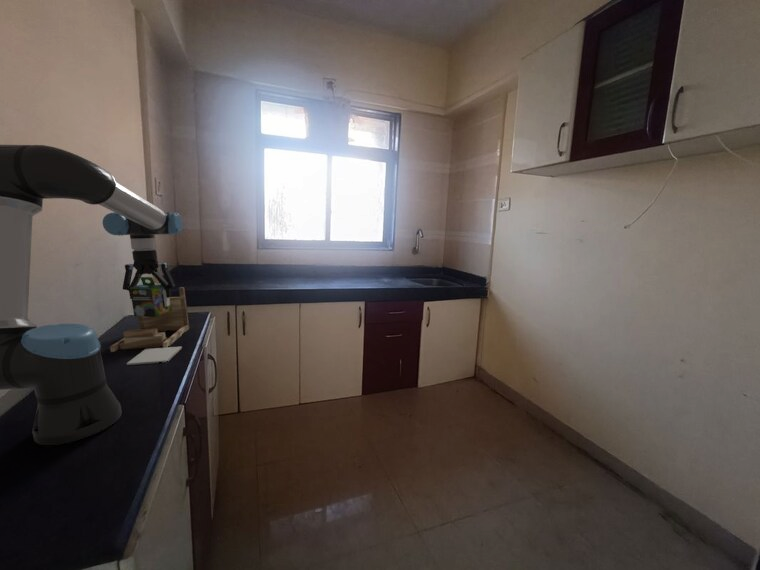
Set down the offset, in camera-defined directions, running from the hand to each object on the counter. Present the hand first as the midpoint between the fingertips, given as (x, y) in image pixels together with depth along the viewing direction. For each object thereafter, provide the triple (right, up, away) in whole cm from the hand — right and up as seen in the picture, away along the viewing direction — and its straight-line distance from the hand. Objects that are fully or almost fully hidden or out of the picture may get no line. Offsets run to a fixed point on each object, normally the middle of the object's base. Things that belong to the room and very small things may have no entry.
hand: (152, 306), depth 130 cm
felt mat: (+12, -16, -16) cm, 26 cm away
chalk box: (0, -3, +1) cm, 3 cm away
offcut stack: (+2, -14, -7) cm, 16 cm away
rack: (+1, -13, 0) cm, 13 cm away
